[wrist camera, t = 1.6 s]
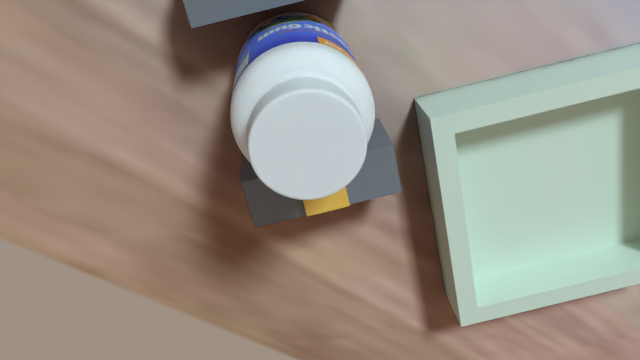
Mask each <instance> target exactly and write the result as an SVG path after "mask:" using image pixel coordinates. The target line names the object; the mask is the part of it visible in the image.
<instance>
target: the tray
mask: <svg viewBox="0 0 640 360" xmlns="http://www.w3.org/2000/svg"><path fill="white" fill-rule="evenodd" d="M414 101H415V107H416V113H417V119H418V126H419V132H420V138H421V144H422V151H423V157H424V163H425V169H426V176H427V182H428V188H429V194H430V201H431V207H432V213H433V219H434V226H435V232H436V238H437V244H438V251H439V257H440V263H441V269H442V276H443V282H444V288H445V294H446V296H447V298H448V300H449V302H450V304H451V306H452V308H453V311H454V313H455V315H456V317H457V319H458V321H459V323H460V325H461V327H462V326H467V325H471V324H475V323H479V322H483V321H487V320H491V319H495V318H500V317H504V316H508V315H512V314H516V313H520V312H524V311H528V310H533V309H537V308H541V307H545V306H549V305H553V304H557V303H561V302H566V301H570V300H574V299H578V298H582V297H586V296H590V295H594V294H599V293H603V292H607V291H611V290H615V289H619V288H623V287H627V286H632V285H636V284H640V43H637V44H633V45H628V46H624V47H620V48H616V49H612V50H608V51H604V52H600V53H596V54H592V55H588V56H584V57H580V58H576V59H572V60H568V61H564V62H560V63H555V64H551V65H547V66H543V67H539V68H535V69H531V70H527V71H523V72H519V73H515V74H511V75H507V76H503V77H499V78H495V79H491V80H486V81H482V82H478V83H474V84H470V85H466V86H462V87H458V88H454V89H450V90H446V91H442V92H438V93H434V94H430V95H426V96H422V97H418V98H414Z"/></svg>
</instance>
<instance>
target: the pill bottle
mask: <svg viewBox="0 0 640 360" xmlns="http://www.w3.org/2000/svg"><path fill="white" fill-rule="evenodd" d="M230 120H231V128H232V132H233V135H234V138H235V141H236V143H237V145H238V147H239V149H240V150H241V152H242V153H243V155H244V156H245V157H246V159H247V160H248V161H249V162H250V163H251V165H252V168H253V169H254V171H255V173H256V175H257V176H258V177H259V179H260V180H261V181H262V182H263V183H264V184H265V185H266V186H268V187H269V188H270V189H272V190H273V191H275V192H276V193H278V194H281V195H283V196H285V197H289V198H293V199H299V200H314V199H320V198H324V197H327V196H329V195H332V194H334V193H336V192H338V191H340V190H341V189H343V188H344V187H345V186H347V185H348V184H349V183H350V182H351V181H352V180H353V179H354V178H355V176H356V175H357V174H358V172H359V171H360V169H361V167H362V165H363V163H364V160H365V157H366V152H367V144H368V142H369V140H370V137H371V134H372V131H373V127H374V121H375V105H374V99H373V95H372V92H371V89H370V87H369V84H368V82H367V80H366V78H365V76H364V74H363V73H362V71H361V69H360V67H359V66H358V64H357V62H356V60H355V58H354V57H353V55H352V53H351V51H350V49H349V47H348V45H347V43H346V41H345V40H344V38H343V37H342V36H341V34H340V33H339V32H338V31H337V30H336V29H335V28H334V27H333V26H332V25H331V24H329V23H328V22H327V21H325V20H323V19H321V18H320V17H317V16H315V15H312V14H308V13H303V12H287V13H282V14H278V15H275V16H273V17H270V18H268V19H266V20H265V21H263V22H262V23H260V24H259V25H258V26H257V27H256V28H254V30H253V31H252V32H251V33H250V34H249V36H248V37H247V39H246V40H245V42H244V44H243V46H242V48H241V50H240V53H239V56H238V60H237V65H236V72H235V78H234V84H233V91H232V97H231V107H230Z"/></svg>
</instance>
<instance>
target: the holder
mask: <svg viewBox="0 0 640 360" xmlns="http://www.w3.org/2000/svg"><path fill="white" fill-rule="evenodd" d="M300 1H304V0H183V3H184V6H185V9H186V13H187V16H188V19H189V22H190V25H191V28H195V27H199V26H203V25H207V24H211V23H215V22H219V21H223V20H227V19H231V18H235V17H239V16H243V15H247V14H251V13H255V12H259V11H264V10H268V9H272V8H276V7H280V6H284V5H288V4H292V3H296V2H300ZM241 185H242V188H243V192H244V195H245V198H246V201H247V204H248V207H249V210H250V213H251V217H252V220H253V223H254V226H255V228H256V227H260V226H264V225H268V224H272V223H276V222H280V221H285V220H289V219H293V218H297V217H301V216H305V215H307V216H311V215H315V214H319V213H323V212H328V211H332V210H336V209H340V208H344V207H348V206H350V204H354V203H358V202H362V201H366V200H370V199H374V198H378V197H383V196H387V195H391V194H395V193H399V192H402V190H401V184H400V179H399V173H398V168H397V162H396V157H395V152H394V146H393V144H392V142H391V140H390V138H389V136H388V135H387V133H386V131H385V129H384V127H383V125H382V124H381V122H380V120H379V119H376V120H375V121H374V127H373V131H372V134H371V137H370V140H369V142H368V144H367V152H366V157H365V160H364V163H363V165H362V167H361V169H360V171H359V172H358V174H357V175H356V176H355V178H354V179H353V180H352V181H351V182H350V183H349V184H348V185H347V186H345V187H344V188H343V189H341V190H340V191H338V192H336V193H334V194H332V195H329V196H327V197H324V198H320V199H314V200H299V199H293V198H289V197H285V196H283V195H281V194H278V193H276V192H275V191H273V190H272V189H270V188H269V187H268V186H266V185H265V184H264V183H263V182H262V181H261V180H260V179H259V177H258V176H257V175H256V173H255V171H254V169H253V168H252V165H251V163H250V162H249V161H248V160H247V159H246V157H245V156H244V155H243V153H242V168H241Z"/></svg>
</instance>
